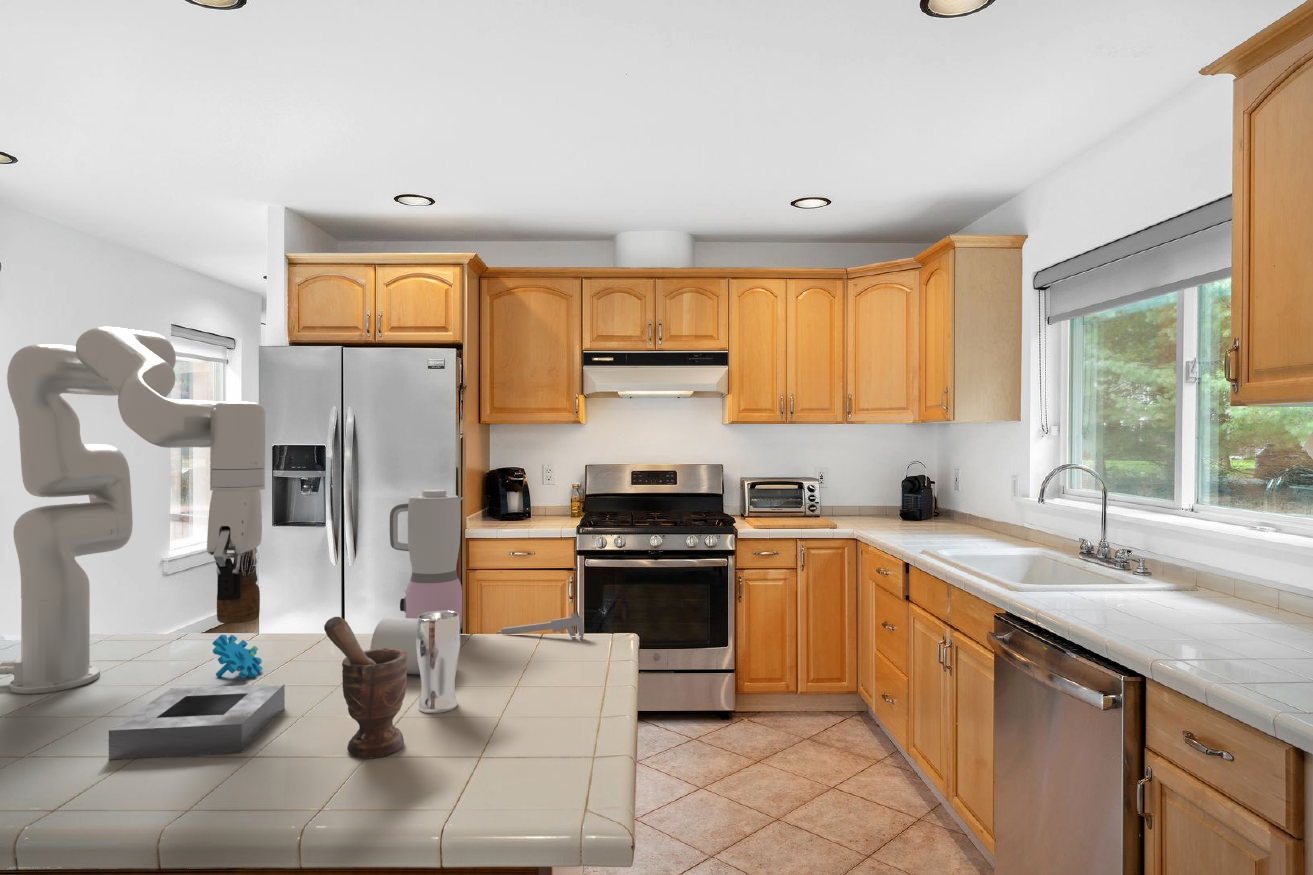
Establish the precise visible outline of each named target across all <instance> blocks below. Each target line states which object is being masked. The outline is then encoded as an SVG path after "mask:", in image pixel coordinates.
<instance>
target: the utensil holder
mask: <svg viewBox="0 0 1313 875" xmlns="http://www.w3.org/2000/svg"><path fill="white" fill-rule="evenodd" d="M256 549H257V548H256ZM256 549H255V550H256ZM250 551H251V550H250ZM256 552H257V553H256V554H257V555H256V559H257V560H259V557H260V554H259V551H258V549H257V550H256ZM243 555H245V554H243ZM249 555H250V553H249ZM246 558H247V556H246ZM252 558H253V557H252ZM242 559H244V557H243V558H242ZM248 560H249V558H248ZM254 561H255V559H254ZM245 563H246V561H245ZM251 564H252V562H251ZM247 565H248V563H247ZM253 566H254V564H253ZM257 566H258V562H257V563H256V565H255V567H256V568H257ZM241 567H242V569H243V563H241ZM250 568H251V567H250ZM252 569H253V568H252ZM254 569H255V568H254ZM253 571H255V570H253ZM240 573H241V598H240V599H239V600H218V599H217V598H216V619H217V621H218V622H219V623H221V624H242V623H248V622H252V621H255V620H256V619H258V618H259V617H260V610H261V604H260V603H261V594H260V593H261V592H260V587H259V585H258V584H257V582H258V574H257V572H256V573H254V572H252V573H251V572H250V570H249V572H247V571H246V572H243V571H242V572H240ZM255 583H256V584H255Z"/></svg>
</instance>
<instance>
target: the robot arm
mask: <svg viewBox="0 0 1313 875" xmlns="http://www.w3.org/2000/svg"><path fill="white" fill-rule="evenodd" d="M176 362H177V356H176V352H175V348H174V347H173V345H172V344H171V342H170V341H169V340H168V339H167V338H166V337H165V336H163V335H161V334H159V333H155V332H153V331H145V330H144V331H143V330H137V329H136V330H135V329H132V328H131V329H128V328H123V327H115V326H114V327H113V326H98V327H94V328H93V327H92V328H90V329H88V330H86V331H84V332H83V333H81V335H79V337H78V338H77V340H76V343H75V345H67V344H53V343H49V344H48V343H40V344H32V345H26V346H24V347H22V348H20V349H18V350H17V351H16V352H15V353H14V354H13V356H12V357H11V359H10V361H9V364H8V368H7V375H6V380H7V383H6V384H7V389H8V392H9V397H10V399H11V402H12V404H13V407H14V410H15V414H16V417H17V420H18V421H17V422H18V432H19V433H18V435H19V436H18V437H19V450H20V452H19V453H20V467H21V478H22V482H23V486H24V489H25V490H26V492H27V493H29V494H30V495H31V496H34V497H39V498H65V497H78V496H79V497H81V496H88V497H89V502H82V503H76V502H75V503H65V504H64V503H63V504H51V505H43V506H38V507H35V508H32V509H30V510H28V511H26V512H24V513H22V514H21V515H20V516H19V517H18V518H17V520H16V521H15V523H14V525H13V526H14V527H13V533H12V534H13V540H14V541H13V542H14V545H15V549H16V553H17V558H18V563H19V564H18V566H19V573H20V599H21V602H20V604H21V605H20V606H21V607H20V608H21V611H20V612H21V616H20V618H21V621H20V623H21V624H20V625H21V626H20V630H21V631H20V632H21V633H20V635H21V636H20V641H21V642H20V654H21V655H20V657H21V658H20V659H19V660H3V661H1V663H0V675H13V679H12V680H11V681H10V682H9V686H8V688H9V691H10V692H11V693H14V694H23V695H25V694H26V695H27V694H28V695H33V694H44V693H45V694H47V693H51V692H57V691H58V692H59V691H64V690H69V689H72V688H76V687H80V686H83V685H87V684H88V683H92V682H93V681H96V680H97V679H98V678H99V677H100V676H101V669H100V668H99V667H97V666H94V665H90V659H91V658H90V657H91V656H90V654H91V652H90V651H91V650H90V649H91V648H90V646H91V645H90V643H91V642H90V637H91V636H90V635H91V634H90V630H91V629H90V622H91V621H90V620H91V618H90V617H91V616H90V612H91V611H90V605H91V604H90V602H91V600H90V598H91V597H90V589H91V588H90V579H89V576H88V574H87V573H86V571H85V570H84V569H83V567H82V566H81V565H80V564H79V563H78V561H77V560H76V557H80V556H81V557H82V556H86V555H94V554H99V553H101V554H102V553H107V552H113V551H117V550H119V549H121V548H123V547H124V546H126V545H127V544H128V542H129V541H130V539H131V536H132V533H133V526H134V525H133V524H134V523H133V520H134V519H133V504H132V503H133V502H132V489H131V488H132V486H131V485H132V484H131V474H130V473H131V472H130V466H129V463H128V460H127V458H126V456H125V455H124V453H123V452H122V451H121V450H120V449H119V448H117V447H116V446H112V445H110V444H104V443H83V441H82V437H81V424H80V422H81V421H80V419H79V416H78V415H77V413H76V411H75V410H74V408H73V407H72V406H71V404H70V403H68V401H67V400H66V399H65V398H63V397H62V396H61V394H72V395H73V394H74V395H87V396H88V395H89V396H109V397H110V396H111V397H113V396H114V397H115V396H117V404H118V405H117V406H118V411H119V414H120V417H121V419H122V421H123V423H124V424H125V426H127V427H128V428H129V429H130V430H132V432H134V433H136V434H137V435H138V436H139V437H140V438H142V439H143V440H145V441H146V442H148V443H149V444H152V445H154V446H157V447H161V448H165V449H166V448H168V449H169V448H171V449H174V448H178V449H179V448H210V449H209V450H210V452H209V454H210V455H209V456H210V457H209V459H210V460H209V462H210V466H209V468H210V469H209V470H210V471H209V472H210V474H209V476H210V477H209V478H210V479H209V484H210V485H209V490H210V491H212V492H211V495H210V496H211V498H210V502H209V508H208V510H209V511H208V518H207V520H208V522H207V536H206V539H207V540H206V551H207V554H208V555H210V556H213V558H214V560H215V566H216V575H217V579H216V580H217V583H216V584H217V590H216V591H217V592H216V600H217V599H218V600H239V599H240V598H241V573H240V572H242V571H243V572H246V571H247V572H249V570H250V572H251V573H252V572H254V573H256V574H257V567H255V566H257V564H256V563H258V559H257V554H258V553H257V552H258V547H259V546H260V545H261V543H262V531H263V520H262V518H263V516H262V498H261V491H262V490H265V488H266V477H265V476H266V411H265V408H264V406H263V405H262V404H260V403H257V402H253V401H251V402H250V401H215V400H214V401H213V400H202V399H201V400H198V399H181V398H180V399H177V398H176V399H173V398H167V397H168V396H169V395H170V393H171V392H172V391H173V389H174V386H175V383H176V374H175V373H176V372H175V371H174V368H175V366H176ZM255 549H256V550H257V551H256V550H255ZM250 550H251V551H250ZM228 551H233V552H228ZM249 553H250V555H249ZM243 554H245V555H243ZM246 556H247V558H246ZM243 557H244V559H242V558H243ZM252 557H253V558H252ZM248 558H249V560H248ZM232 559H233V561H232ZM254 559H255V561H254ZM245 561H246V563H245ZM251 562H252V564H251ZM241 563H243V569H242V567H241ZM247 563H248V565H247ZM253 564H254V566H253ZM250 567H251V568H250ZM252 568H253V569H252ZM254 568H255V569H254ZM253 570H255V571H253ZM255 584H257V582H256V583H255Z"/></svg>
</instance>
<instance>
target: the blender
mask: <svg viewBox="0 0 1313 875" xmlns="http://www.w3.org/2000/svg"><path fill="white" fill-rule="evenodd" d="M463 499H464V497H461V496H458V495H454V494H447V490H446V489H425V490H424V489H423V490H422V492H421V495H412V496H409V498H408V503H401V504H396V505H395V506H393V507H392V509H391V511H390V512H389V542H390V547H391V548H393V549H394V550H397V551H402V552H408V553H409V560H410V563H411V575H410V579H409V581H408V583H407V585H406V586H405V590H404V593H405V596H404V598H401V599H400V601H399V610H400V612H404V613H405V618H412V619H418V618H417V617H418V615H420V614H422V613H426V612H431V611H454V612H457V613H459V624H460V630H462V629H463V622H464V621H463V620H462V619H463V588H462V584H461V581H460V579H459V577H458V574H457V564H458V558H459V550H460V545H461V506H460V505H461V501H462V500H463ZM404 512H407V542H400V541H399V532H398V530H399V529H398V528H399V524H398V522H399V514H400V513H404Z"/></svg>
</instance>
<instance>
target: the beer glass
mask: <svg viewBox="0 0 1313 875" xmlns="http://www.w3.org/2000/svg"><path fill="white" fill-rule="evenodd" d="M417 618H418V619H417V631H416V653H417V660H418V666H419V672H420V675H419V677H420V678H419V679H420V685H421V686H420V687H421V689H420V697H419V702H418V711H420V712H422V713H426V714H441V713H447V712H449V711H452V710H454V709H456V707H457V706H458V698H457V695H456V694H457V693H456V675H457V668H458V664H459V663H458V662H459V657H460V651H461V650H460V649H461V629H460V624H459V613H457V612H454V611H431V612H426V613H422V614H420V615H418V617H417Z"/></svg>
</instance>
